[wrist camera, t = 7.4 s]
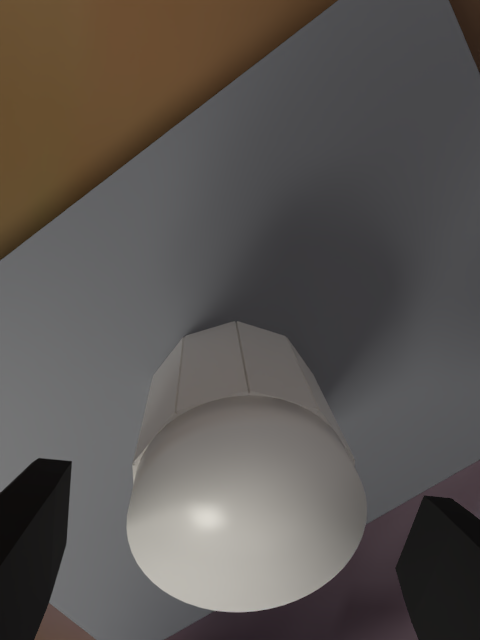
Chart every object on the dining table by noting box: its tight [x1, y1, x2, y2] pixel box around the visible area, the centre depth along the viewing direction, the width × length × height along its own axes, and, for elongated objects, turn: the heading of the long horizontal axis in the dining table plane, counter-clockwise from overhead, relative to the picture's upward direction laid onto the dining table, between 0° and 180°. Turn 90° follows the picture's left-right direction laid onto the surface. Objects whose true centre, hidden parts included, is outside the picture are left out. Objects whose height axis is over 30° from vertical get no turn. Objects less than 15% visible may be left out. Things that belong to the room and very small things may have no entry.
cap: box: [126, 321, 367, 612], centre depth 11 cm, size 5×5×5 cm
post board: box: [0, 0, 480, 640], centre depth 13 cm, size 20×14×5 cm
